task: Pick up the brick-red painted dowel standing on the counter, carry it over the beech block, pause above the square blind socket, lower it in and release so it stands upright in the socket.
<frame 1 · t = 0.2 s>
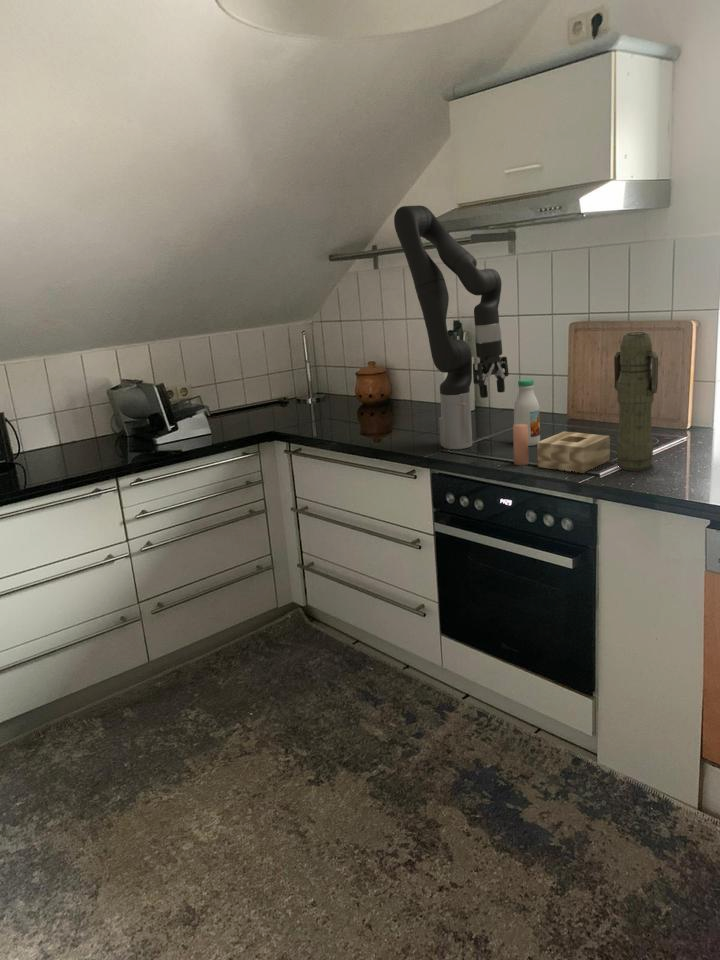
hand: (492, 394, 221), 17 cm above the table, tool pointing down, fingers open, 8 cm apart
bore block: (573, 463, 205), on the table
dowel pin: (521, 463, 210), on the table
milk bottle: (527, 444, 231), on the table
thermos: (634, 466, 198), on the table
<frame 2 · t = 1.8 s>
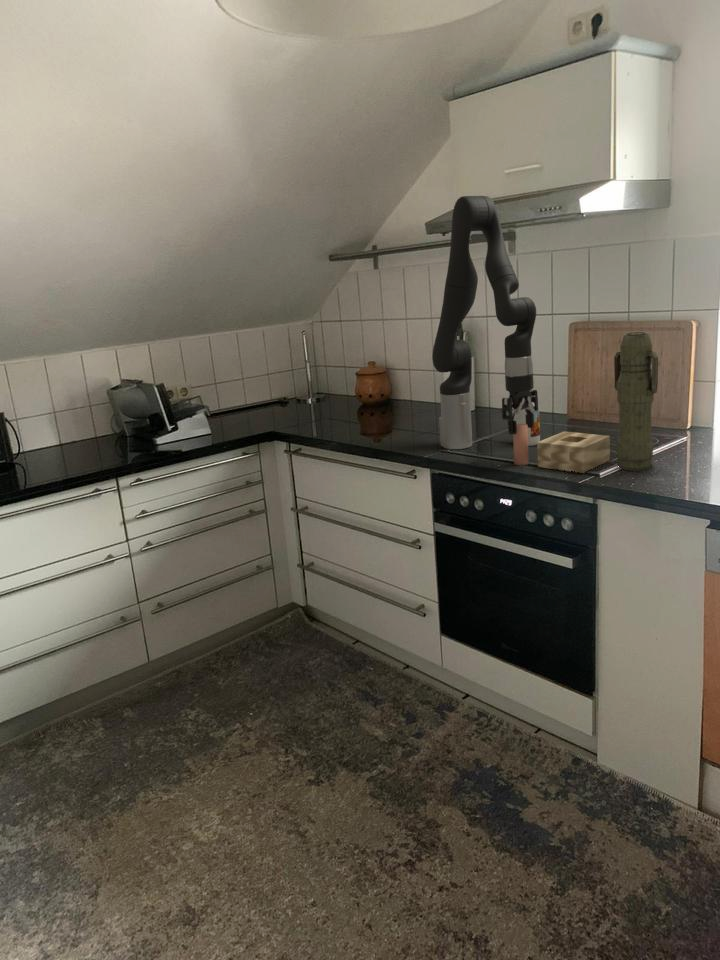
hand: (521, 430, 208), 9 cm above the table, tool pointing down, fingers open, 8 cm apart
nothing on the table moved.
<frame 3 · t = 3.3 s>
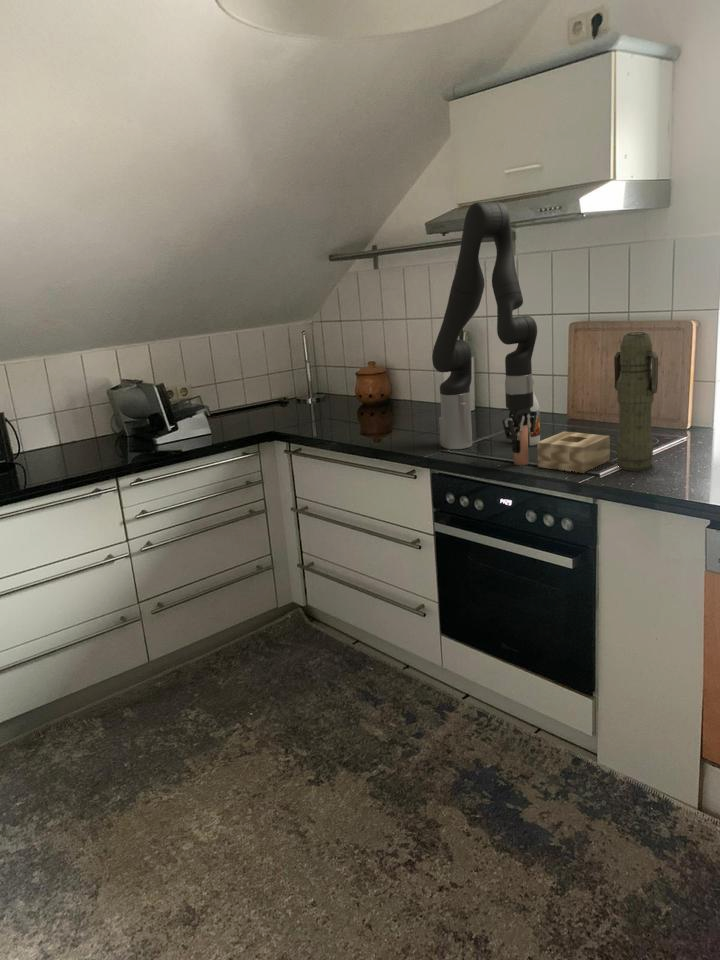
hand: (520, 450, 209), 4 cm above the table, tool pointing down, fingers closed on dowel pin, 4 cm apart
dowel pin: (521, 463, 210), on the table, touching gripper
everything else where it was.
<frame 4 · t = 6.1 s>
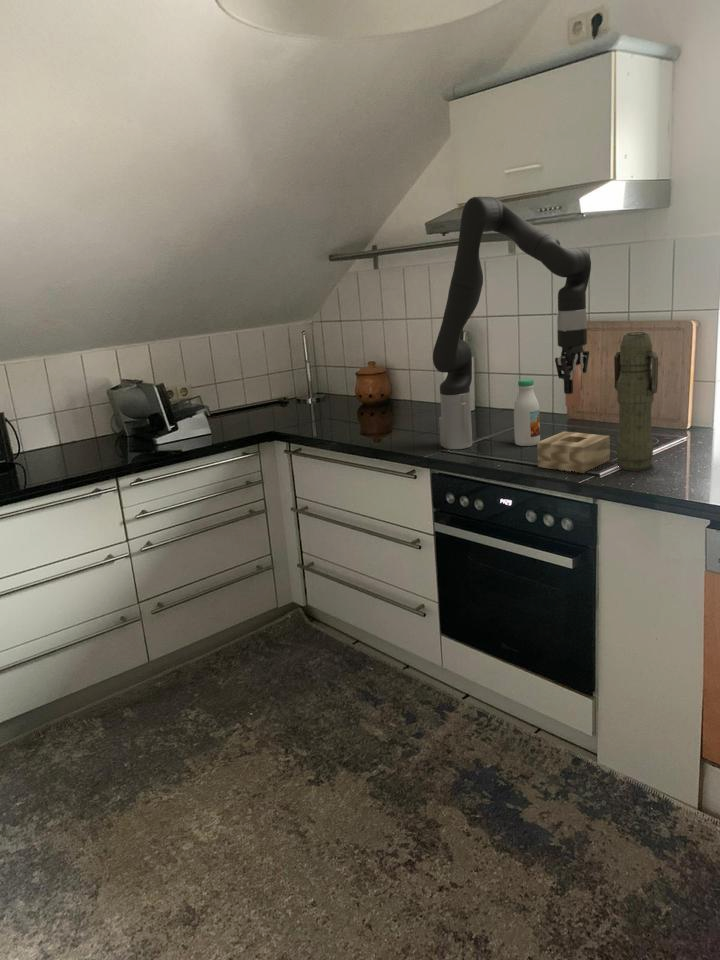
hand: (572, 391, 200), 20 cm above the table, tool pointing down, fingers closed on dowel pin, 4 cm apart
dowel pin: (573, 405, 201), point 16 cm above the table, touching gripper
everything else where it was.
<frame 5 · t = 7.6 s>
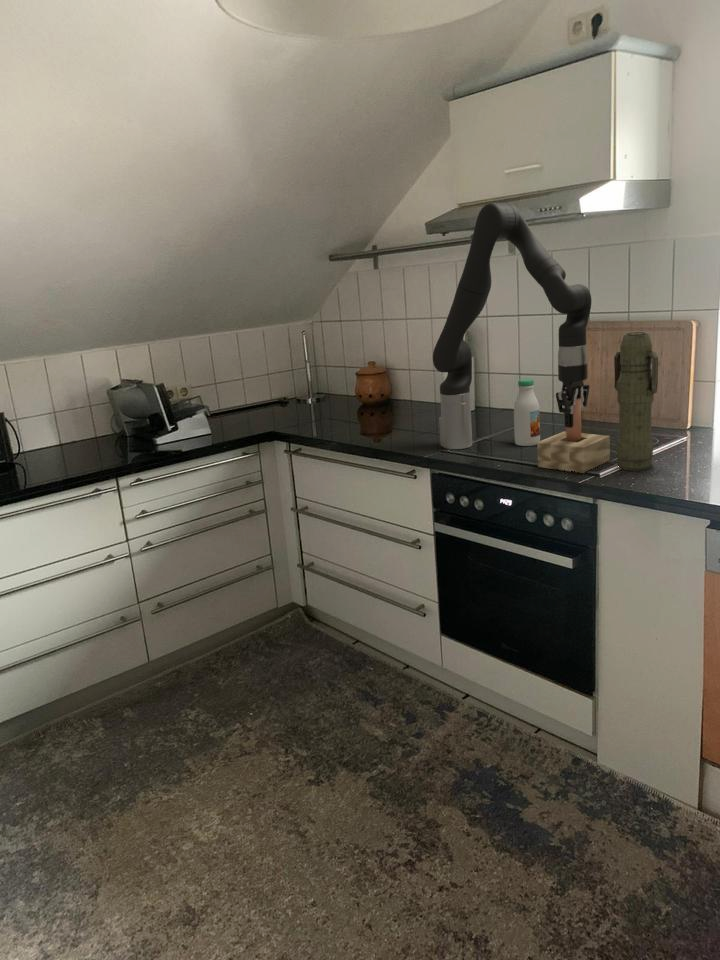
hand: (573, 425, 202), 11 cm above the table, tool pointing down, fingers closed on dowel pin, 4 cm apart
dowel pin: (573, 438, 203), point 7 cm above the table, touching gripper
everything else where it was.
when the fingers open (8 cm above the table, at t = 8.9 s): dowel pin drops 2 cm, resting on bore block.
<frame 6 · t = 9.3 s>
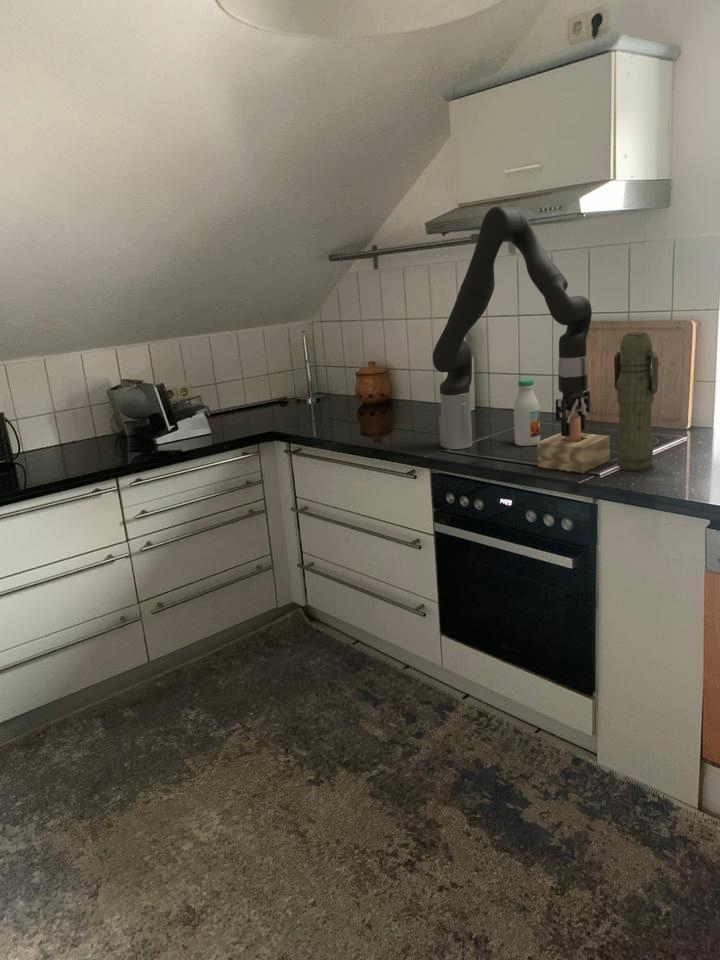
hand: (573, 432, 203), 9 cm above the table, tool pointing down, fingers open, 8 cm apart
dowel pin: (573, 456, 205), point 2 cm above the table, touching bore block
everything else where it was.
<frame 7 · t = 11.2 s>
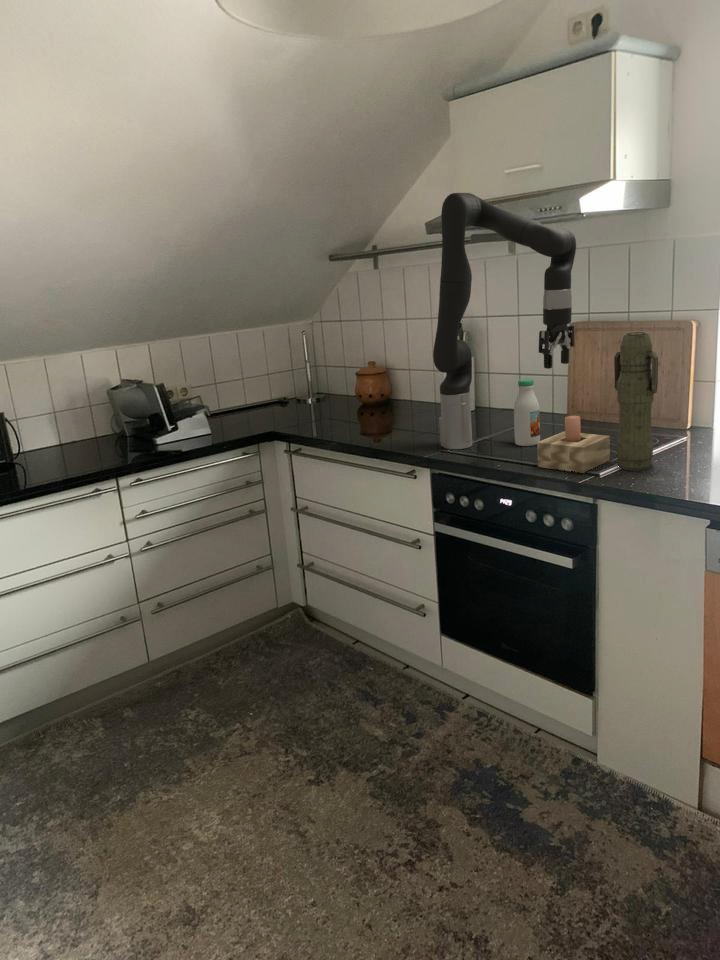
hand: (556, 365, 207), 26 cm above the table, tool pointing down, fingers open, 8 cm apart
nothing on the table moved.
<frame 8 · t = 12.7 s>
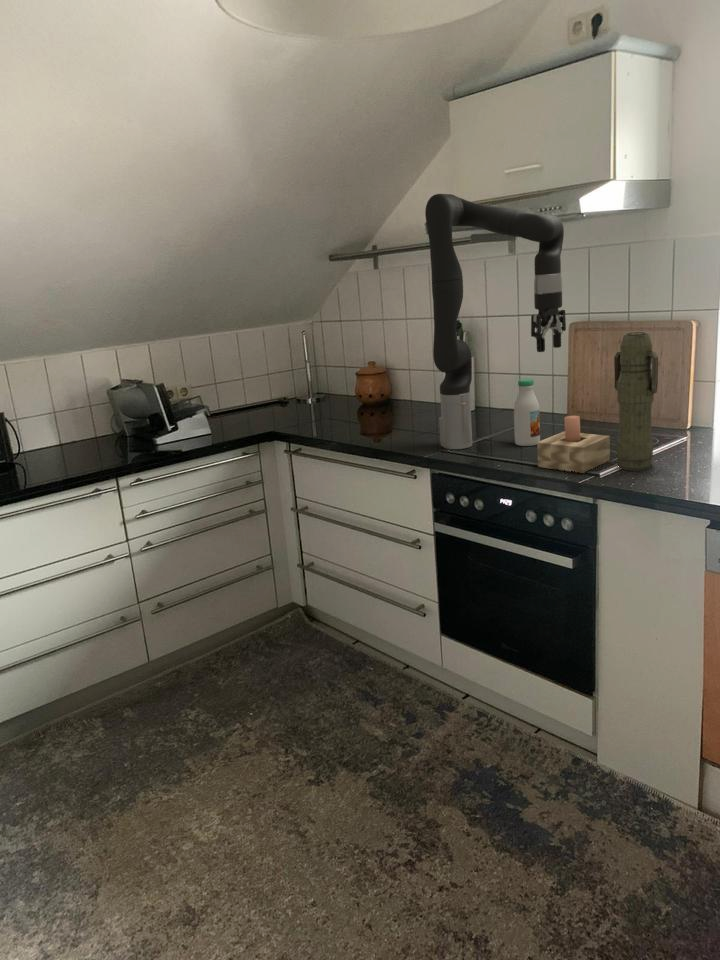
hand: (549, 349, 211), 30 cm above the table, tool pointing down, fingers open, 8 cm apart
nothing on the table moved.
at the end: dowel pin 0.1 cm off-centre on the bore block, point 2.1 cm above the bore block's base; dowel pin tilted 1°; the gripper is holding nothing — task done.
